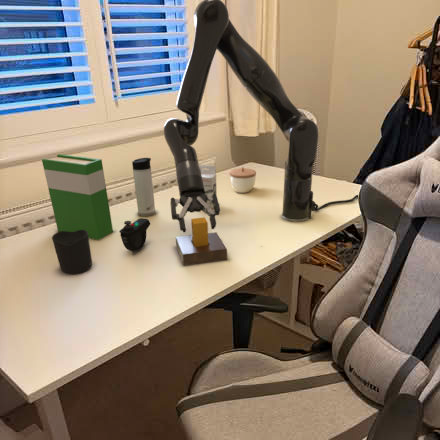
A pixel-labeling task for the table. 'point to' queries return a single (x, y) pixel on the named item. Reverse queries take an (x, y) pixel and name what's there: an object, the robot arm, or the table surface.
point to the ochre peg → (199, 232)
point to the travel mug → (143, 186)
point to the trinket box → (242, 179)
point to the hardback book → (78, 195)
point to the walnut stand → (201, 250)
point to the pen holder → (73, 251)
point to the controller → (134, 234)
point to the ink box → (209, 181)
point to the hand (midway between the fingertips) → (199, 229)
